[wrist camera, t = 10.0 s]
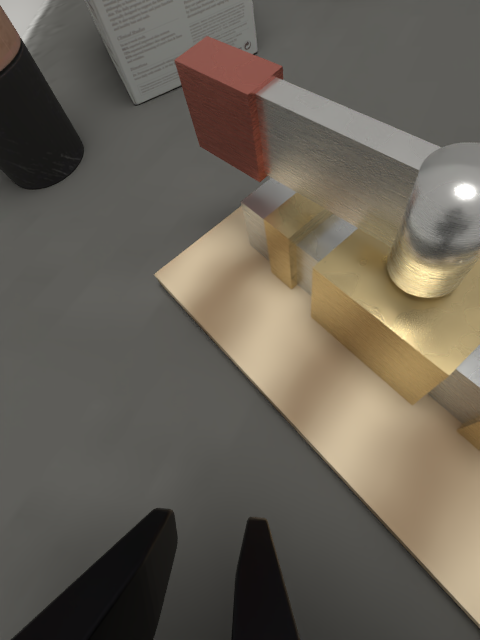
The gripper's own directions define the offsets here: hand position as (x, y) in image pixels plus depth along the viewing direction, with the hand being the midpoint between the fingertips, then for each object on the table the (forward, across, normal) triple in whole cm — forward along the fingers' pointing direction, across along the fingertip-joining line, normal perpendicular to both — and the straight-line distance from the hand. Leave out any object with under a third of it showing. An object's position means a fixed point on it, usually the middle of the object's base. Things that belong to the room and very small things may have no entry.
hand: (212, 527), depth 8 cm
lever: (+13, -3, -6) cm, 15 cm away
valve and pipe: (+14, -7, 0) cm, 16 cm away
